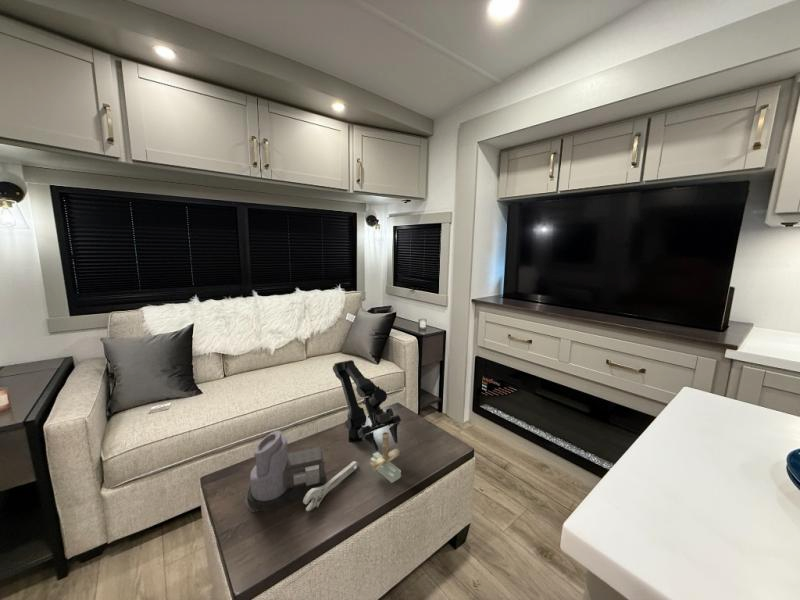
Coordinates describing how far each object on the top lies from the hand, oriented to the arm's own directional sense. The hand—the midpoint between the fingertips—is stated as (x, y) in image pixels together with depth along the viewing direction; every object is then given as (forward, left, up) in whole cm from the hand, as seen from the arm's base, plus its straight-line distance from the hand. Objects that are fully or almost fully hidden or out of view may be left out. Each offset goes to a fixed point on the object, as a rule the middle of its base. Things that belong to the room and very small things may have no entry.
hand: (387, 446), depth 128 cm
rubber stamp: (-1, +1, -8) cm, 8 cm away
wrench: (-21, -7, -12) cm, 26 cm away
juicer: (-39, -5, -12) cm, 41 cm away
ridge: (-1, +1, -12) cm, 12 cm away
